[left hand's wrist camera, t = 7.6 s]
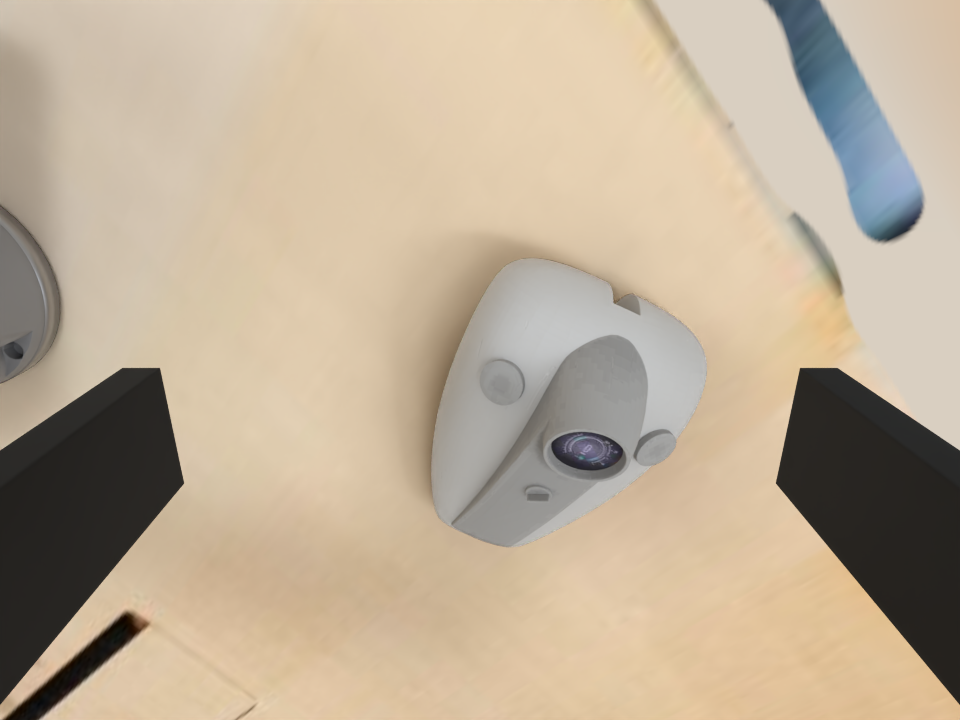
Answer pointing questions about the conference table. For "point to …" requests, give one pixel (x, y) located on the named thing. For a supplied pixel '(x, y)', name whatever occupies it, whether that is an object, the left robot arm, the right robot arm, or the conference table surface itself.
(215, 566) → the conference table surface
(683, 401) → the projector
